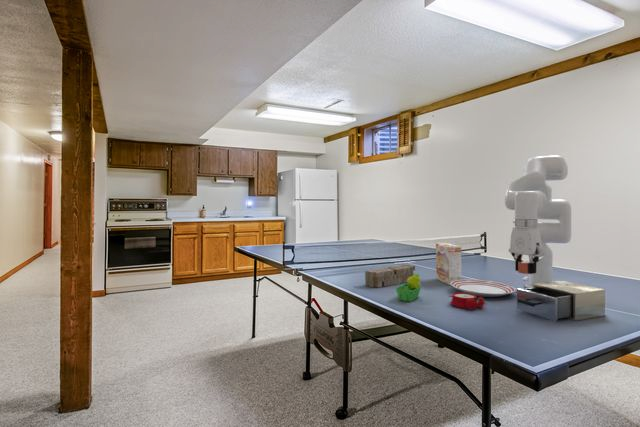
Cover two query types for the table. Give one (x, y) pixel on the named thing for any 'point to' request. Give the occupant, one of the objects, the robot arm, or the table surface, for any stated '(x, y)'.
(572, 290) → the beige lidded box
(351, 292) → the table surface
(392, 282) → the block tower
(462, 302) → the alarm clock
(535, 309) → the handled box
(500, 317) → the table surface
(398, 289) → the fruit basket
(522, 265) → the orange glossy cylinder
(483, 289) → the dinner plate
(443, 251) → the coffeecake box
